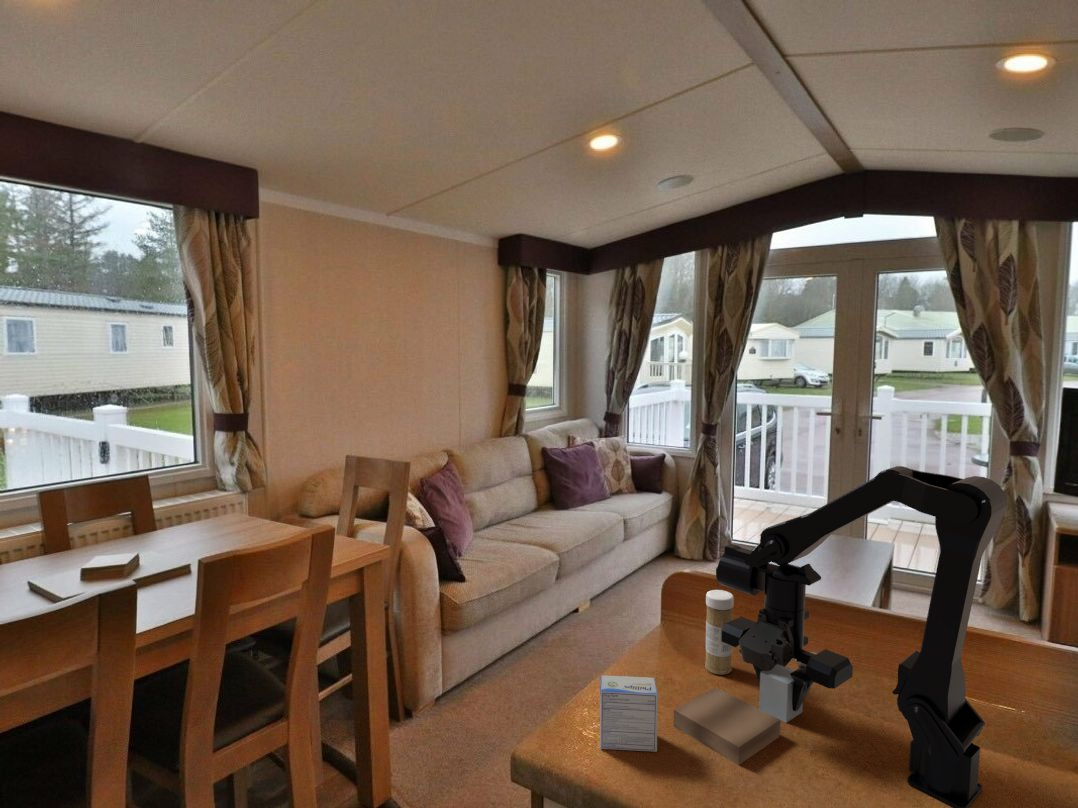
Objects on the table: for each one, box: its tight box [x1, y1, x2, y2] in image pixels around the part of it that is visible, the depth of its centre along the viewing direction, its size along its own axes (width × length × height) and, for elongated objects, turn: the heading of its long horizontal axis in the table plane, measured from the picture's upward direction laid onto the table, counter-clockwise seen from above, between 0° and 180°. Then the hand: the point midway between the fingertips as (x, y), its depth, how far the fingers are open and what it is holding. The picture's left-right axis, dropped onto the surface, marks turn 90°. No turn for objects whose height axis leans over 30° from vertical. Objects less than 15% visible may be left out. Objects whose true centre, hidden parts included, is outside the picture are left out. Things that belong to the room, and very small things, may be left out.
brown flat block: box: [673, 687, 781, 766], centre depth 91 cm, size 11×10×3 cm
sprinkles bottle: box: [704, 589, 735, 676], centre depth 108 cm, size 5×5×14 cm
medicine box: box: [599, 675, 659, 753], centre depth 88 cm, size 8×4×9 cm, turn 84°
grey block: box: [758, 665, 804, 724], centre depth 96 cm, size 4×4×6 cm
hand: (780, 703), depth 96 cm, fingers closed on grey block, 4 cm apart
